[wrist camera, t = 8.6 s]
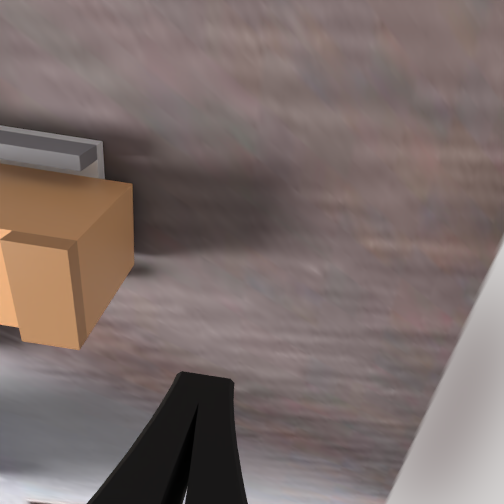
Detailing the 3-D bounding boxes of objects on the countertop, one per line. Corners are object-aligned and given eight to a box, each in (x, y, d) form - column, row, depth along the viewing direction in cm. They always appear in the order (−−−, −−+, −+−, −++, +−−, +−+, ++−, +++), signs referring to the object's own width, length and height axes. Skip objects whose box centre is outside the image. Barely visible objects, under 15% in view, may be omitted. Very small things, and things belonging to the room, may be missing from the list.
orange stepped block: (134, 264, 18) (79, 350, 13) (-36, 238, 18) (-151, 314, 13) (132, 183, 16) (67, 250, 11) (-58, 154, 16) (-204, 208, 11)
